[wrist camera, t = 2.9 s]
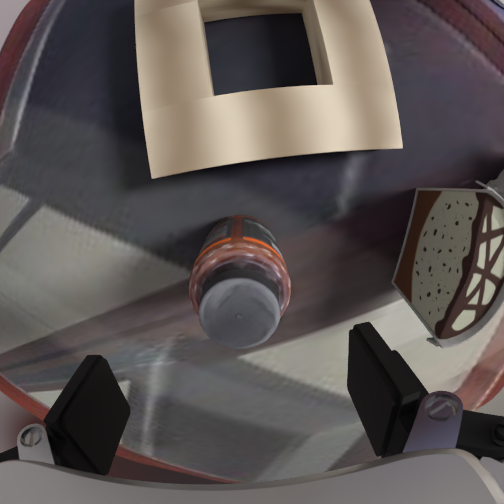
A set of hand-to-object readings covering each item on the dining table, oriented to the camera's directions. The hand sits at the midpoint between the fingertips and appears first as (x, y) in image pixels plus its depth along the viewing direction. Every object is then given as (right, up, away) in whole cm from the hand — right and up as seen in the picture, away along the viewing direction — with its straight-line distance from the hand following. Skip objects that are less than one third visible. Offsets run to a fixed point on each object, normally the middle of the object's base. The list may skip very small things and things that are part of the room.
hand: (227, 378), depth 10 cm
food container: (+18, +6, +15) cm, 24 cm away
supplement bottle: (0, +5, +15) cm, 16 cm away
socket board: (+2, +21, +10) cm, 23 cm away
